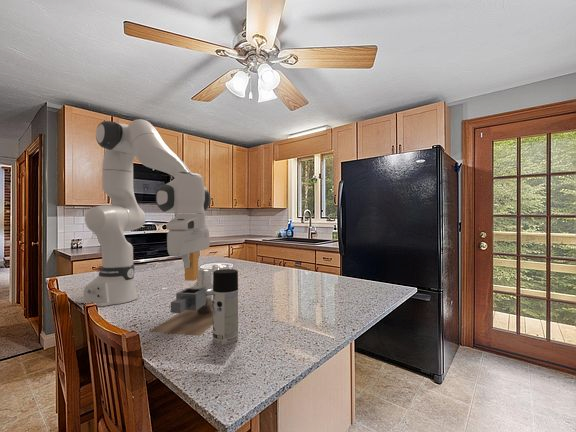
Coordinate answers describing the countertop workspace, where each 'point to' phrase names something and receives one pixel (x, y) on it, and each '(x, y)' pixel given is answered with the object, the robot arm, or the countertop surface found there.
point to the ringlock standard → (195, 295)
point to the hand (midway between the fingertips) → (191, 266)
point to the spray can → (225, 306)
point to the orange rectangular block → (192, 268)
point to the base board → (186, 323)
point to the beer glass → (218, 268)
